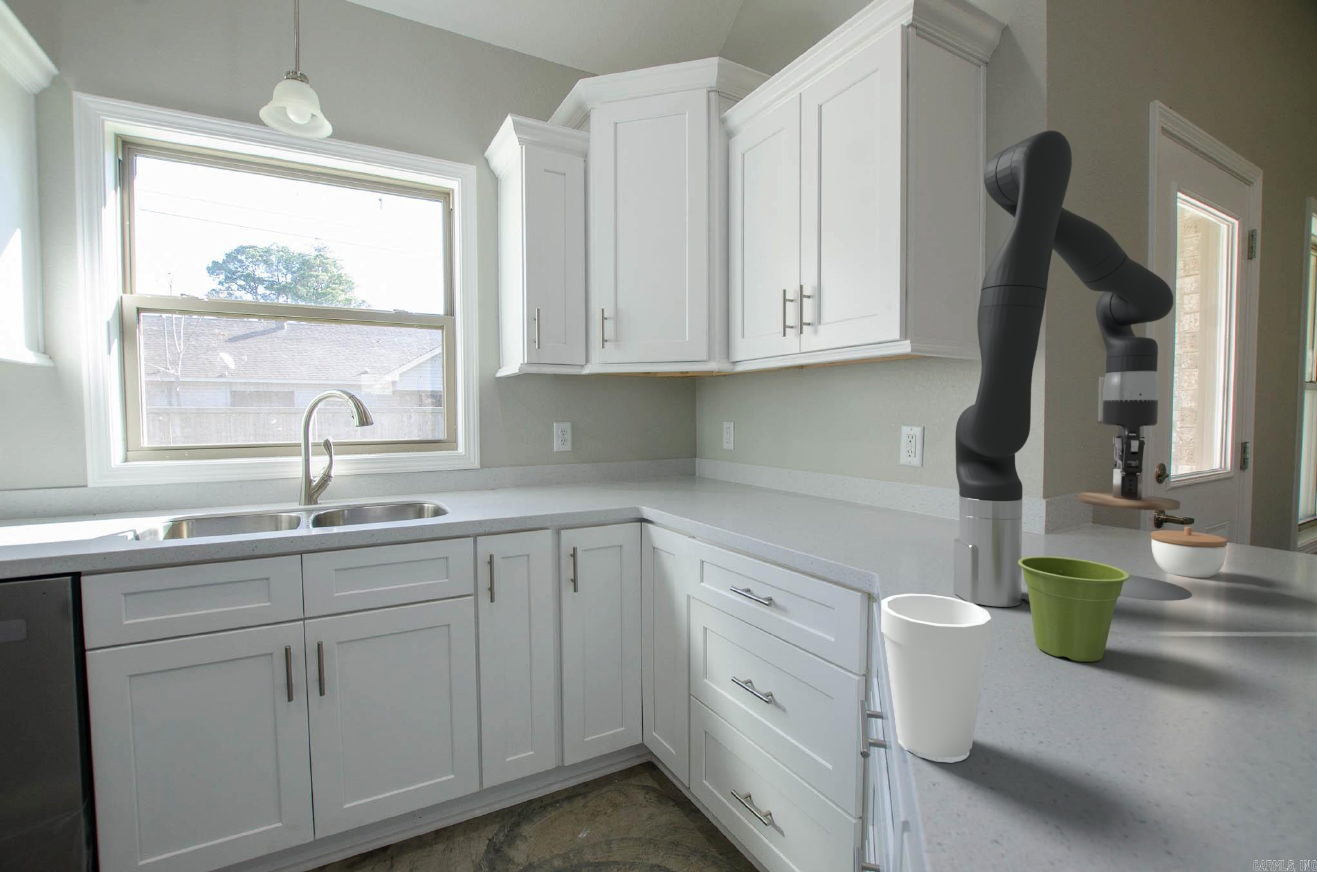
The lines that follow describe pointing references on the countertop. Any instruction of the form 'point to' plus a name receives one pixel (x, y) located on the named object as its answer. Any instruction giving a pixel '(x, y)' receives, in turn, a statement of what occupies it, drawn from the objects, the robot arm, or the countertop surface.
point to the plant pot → (1072, 604)
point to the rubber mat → (1152, 589)
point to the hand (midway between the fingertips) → (1126, 495)
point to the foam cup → (935, 669)
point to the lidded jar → (1188, 552)
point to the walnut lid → (1128, 503)
